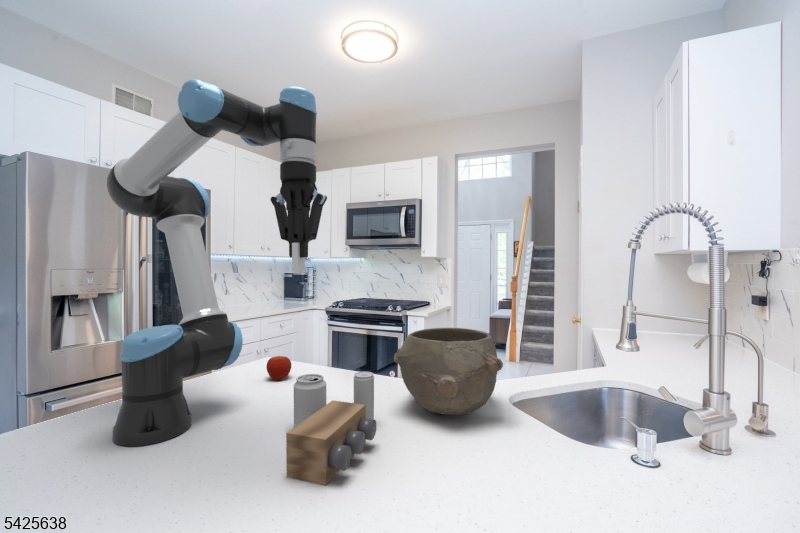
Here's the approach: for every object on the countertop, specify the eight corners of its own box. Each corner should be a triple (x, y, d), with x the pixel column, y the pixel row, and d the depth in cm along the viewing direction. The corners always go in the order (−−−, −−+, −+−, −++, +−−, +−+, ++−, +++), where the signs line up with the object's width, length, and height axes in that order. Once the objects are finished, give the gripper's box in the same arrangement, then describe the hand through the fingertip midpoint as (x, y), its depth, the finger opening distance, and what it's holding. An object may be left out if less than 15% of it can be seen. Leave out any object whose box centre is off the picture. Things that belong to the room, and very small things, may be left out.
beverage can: (363, 418, 95) (363, 370, 94) (378, 423, 91) (378, 373, 91) (349, 424, 91) (349, 374, 91) (363, 430, 88) (363, 378, 88)
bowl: (379, 399, 108) (379, 328, 107) (465, 386, 119) (465, 322, 119) (422, 440, 83) (422, 348, 82) (526, 419, 94) (526, 338, 94)
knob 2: (306, 449, 75) (306, 428, 75) (317, 440, 79) (317, 420, 79) (356, 458, 71) (356, 437, 71) (365, 448, 75) (365, 428, 75)
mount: (286, 477, 69) (286, 432, 69) (332, 436, 85) (332, 400, 85) (325, 485, 66) (325, 439, 66) (365, 441, 82) (365, 404, 82)
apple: (296, 377, 127) (296, 354, 127) (277, 384, 121) (277, 359, 121) (280, 374, 132) (280, 351, 131) (261, 380, 125) (261, 356, 125)
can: (318, 436, 85) (318, 383, 84) (287, 433, 86) (287, 380, 86) (331, 422, 92) (331, 373, 92) (302, 420, 93) (302, 371, 93)
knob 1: (287, 464, 69) (287, 442, 69) (300, 454, 73) (300, 433, 73) (341, 475, 66) (341, 452, 66) (351, 463, 70) (351, 441, 69)
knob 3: (321, 435, 81) (321, 417, 81) (331, 428, 84) (331, 410, 84) (368, 443, 77) (368, 424, 77) (376, 435, 81) (376, 416, 81)
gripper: (261, 161, 81) (262, 273, 81) (315, 156, 77) (315, 273, 77) (283, 170, 88) (283, 272, 88) (333, 165, 84) (333, 272, 84)
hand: (298, 272), depth 83 cm, fingers closed
